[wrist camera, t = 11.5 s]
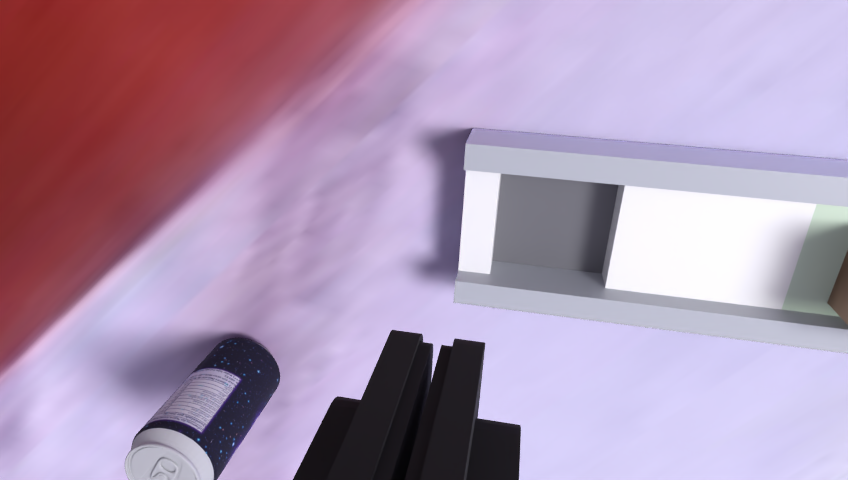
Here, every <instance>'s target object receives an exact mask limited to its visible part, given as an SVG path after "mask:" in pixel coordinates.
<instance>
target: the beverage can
mask: <svg viewBox="0 0 848 480" xmlns="http://www.w3.org/2000/svg"><path fill="white" fill-rule="evenodd" d="M279 381H280V372H279V368H278V365H277V363H276V361H275V359H274V358H273V356H272V355H271V354H270V352H269V351H268V350H267V349H266V348H265V347H263V346H262V345H260V344H258V343H256V342H253V341H250V340H247V339H242V338H231V339H227V340H224V341H222V342H221V343H219V344H218V345H217V346H216V347H215V348H214V349H213V350H212V352H211V353H210V354H209V355H208V356H207V357H206V358H205V359H204V360H203V361H202V363H201V364H200V365H199V366H198V367H197V368H196V369H195V370H194V371H193V373H192V374H191V375H190V376H189V377H188V378H187V379H186V380H185V381H184V382H183V384H182V385H181V386H180V387H179V388H178V389H177V390H176V391H175V392H174V394H173V395H172V396H171V397H170V398H169V399H168V400H167V401H166V402H165V403H164V405H163V406H162V407H161V408H160V409H159V410H158V411H157V412H156V413H155V414H154V416H153V417H152V418H151V419H150V420H149V421H148V422H147V423H146V424H145V426H144V427H143V428H142V429H141V430H140V431H139V432H138V433H137V434H136V436H135V438H134V440H133V443H132V447H131V451H130V452H129V453H128V455H127V457H126V460H125V471H126V474H127V477H128V479H129V480H217V479H218V477H219V476H220V474H221V473H222V471H223V470H224V468H225V466H226V465H227V463H228V462H229V460H230V459H231V457H232V456H233V454H234V453H235V451H236V450H237V448H238V447H239V445H240V444H241V442H242V441H243V439H244V438H245V436H246V435H247V433H248V432H249V430H250V428H251V427H252V425H253V424H254V422H255V421H256V419H257V418H258V416H259V415H260V413H261V412H262V410H263V409H264V407H265V406H266V404H267V403H268V401H269V400H270V398H271V397H272V395H273V393H274V392H275V390H276V389H277V387H278V385H279Z"/></svg>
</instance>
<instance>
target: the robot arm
mask: <svg viewBox="0 0 848 480" xmlns="http://www.w3.org/2000/svg"><path fill="white" fill-rule="evenodd" d="M484 350H485V343H483V342H476V341H468V340H461V339H454V343H453V347H452V346H445V345H442V346H441V349H440V353H439V356H438V360H437V364H436V367H435V371H434V374H433V378H432V382H431V374H432V358H433V344H431V343H424V342H423V335H422V334H418V333H411V332H403V331H396V330H392V331H391V332H390V334H389V337H388V339H387V341H386V344H385V346H384V348H383V350H382V353H381V355H380V357H379V360H378V362H377V364H376V367H375V369H374V371H373V374H372V376H371V378H370V380H369V383H368V385H367V387H366V390H365V392H364V394H363V397H362V399H361V400H357V399H350V398H344V397H336V398H335V399H334V400H333V402H332V403H331V405H330V407H329V409H328V411H327V413H326V415H325V417H324V419H323V421H322V423H321V425H320V427H319V429H318V431H317V433H316V435H315V437H314V439H313V441H312V443H311V445H310V447H309V449H308V451H307V453H306V455H305V457H304V459H303V461H302V463H301V465H300V467H299V469H298V471H297V473H296V475H295V477H294V479H293V480H519V460H520V436H521V427H520V425H515V424H509V423H503V422H496V421H490V420H484V419H477V417H478V408H479V398H480V388H481V379H482V369H483V360H484Z"/></svg>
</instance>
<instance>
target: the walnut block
mask: <svg viewBox="0 0 848 480" xmlns="http://www.w3.org/2000/svg"><path fill="white" fill-rule="evenodd" d="M827 303H828V304H829V305H830V306H831V307H832V309H833V310H834V311H835V312H836V313H837V314H838V315H839V316H840V317H841V318H842V319H843V320H844V322H845V323H846V324H847V325H848V250H847V253H846V255H845V258H844V261H843V263H842V266H841V268H840V271H839V273H838V276H837V279H836V281H835V284H834V286H833V289H832V292H831V294H830V297H829V299H828V302H827Z"/></svg>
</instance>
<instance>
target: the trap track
mask: <svg viewBox="0 0 848 480" xmlns="http://www.w3.org/2000/svg"><path fill="white" fill-rule="evenodd" d="M464 170H466V177H465V190H464V203H463V216H462V229H461V241H460V254H459V267H458V273H457V276H456V280H455V290H454V303H461V304H468V305H476V306H484V307H491V308H499V309H507V310H515V311H522V312H530V313H538V314H545V315H553V316H561V317H569V318H576V319H584V320H592V321H599V322H607V323H615V324H623V325H630V326H638V327H646V328H654V329H661V330H669V331H677V332H684V333H692V334H700V335H708V336H715V337H723V338H731V339H738V340H746V341H754V342H762V343H769V344H777V345H785V346H792V347H800V348H808V349H816V350H823V351H831V352H839V353H847V354H848V325H847V324H846V323H845V322H844V320H843V319H842V318H841V317H840V316H839V315H838V314H837V313H836V312H835V311H834V310H833V309H832V307H831V306H830V305H829V304H828V303H827V302H828V299H829V297H830V294H831V292H832V289H833V286H834V284H835V281H836V279H837V276H838V273H839V271H840V268H841V266H842V263H843V261H844V258H845V255H846V253H847V250H848V160H841V159H830V158H818V157H806V156H795V155H783V154H771V153H760V152H748V151H736V150H724V149H713V148H701V147H689V146H678V145H666V144H654V143H643V142H631V141H619V140H608V139H596V138H584V137H572V136H561V135H549V134H537V133H526V132H514V131H502V130H491V129H479V128H473V129H472V131H471V133H470V135H469V138H468V140H467V142H466V145H465V158H464Z"/></svg>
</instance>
